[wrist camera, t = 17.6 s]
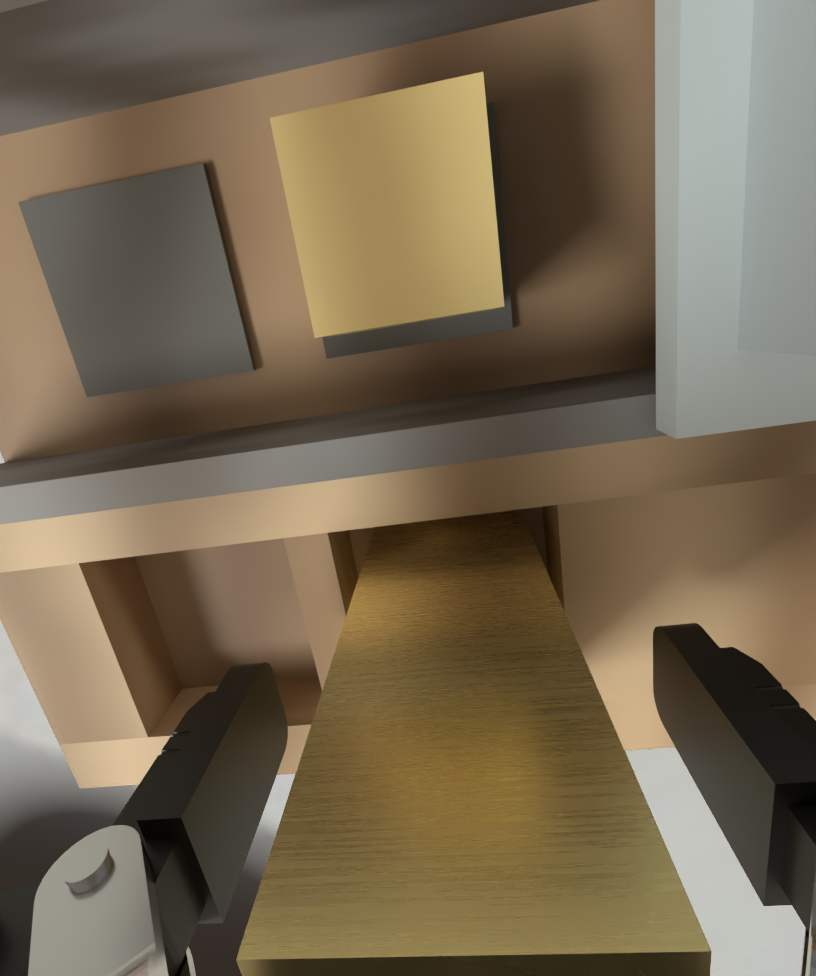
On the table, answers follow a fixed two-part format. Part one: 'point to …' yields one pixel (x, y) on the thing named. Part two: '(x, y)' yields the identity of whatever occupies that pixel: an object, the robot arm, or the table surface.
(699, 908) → the table surface
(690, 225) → the lid
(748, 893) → the table surface
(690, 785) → the table surface
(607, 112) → the board
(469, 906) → the pin
